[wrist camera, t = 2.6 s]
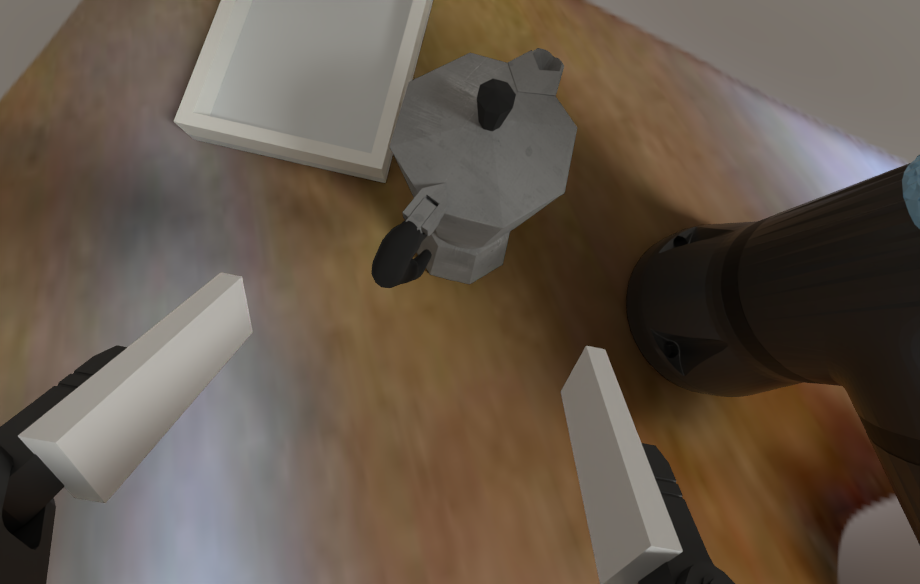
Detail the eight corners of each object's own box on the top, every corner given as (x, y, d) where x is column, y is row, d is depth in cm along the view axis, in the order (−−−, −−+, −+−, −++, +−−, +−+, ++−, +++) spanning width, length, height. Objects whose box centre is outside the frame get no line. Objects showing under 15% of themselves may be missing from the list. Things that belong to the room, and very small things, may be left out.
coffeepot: (461, 153, 33) (494, -72, 15) (541, 210, 33) (670, 49, 15) (358, 281, 30) (256, 185, 13) (445, 345, 30) (465, 338, 12)
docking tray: (442, -38, 36) (443, -66, 34) (385, 183, 32) (381, 169, 30) (276, -81, 36) (265, -113, 33) (193, 139, 31) (173, 121, 29)
